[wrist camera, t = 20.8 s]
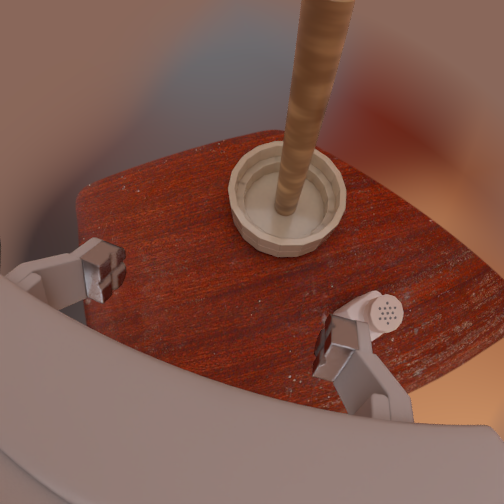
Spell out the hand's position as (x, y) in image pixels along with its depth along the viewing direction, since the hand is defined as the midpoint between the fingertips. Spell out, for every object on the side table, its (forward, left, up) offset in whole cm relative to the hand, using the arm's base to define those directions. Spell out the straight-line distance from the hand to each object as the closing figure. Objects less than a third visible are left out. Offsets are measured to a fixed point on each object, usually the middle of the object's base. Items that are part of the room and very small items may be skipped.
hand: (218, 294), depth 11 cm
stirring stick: (-2, +14, -21) cm, 25 cm away
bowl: (-2, +14, -21) cm, 26 cm away
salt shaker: (+11, +6, -22) cm, 25 cm away
